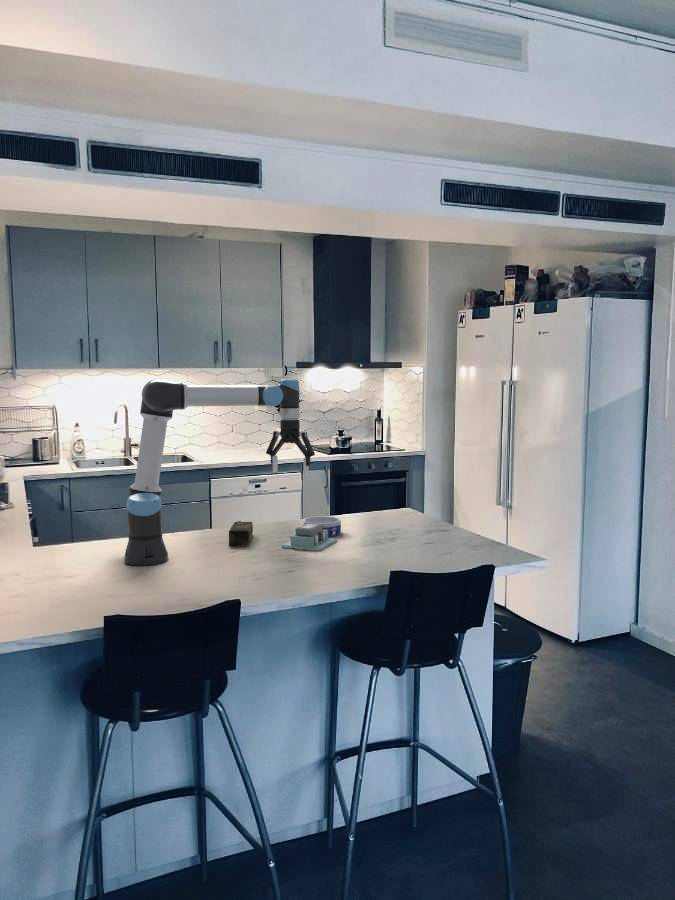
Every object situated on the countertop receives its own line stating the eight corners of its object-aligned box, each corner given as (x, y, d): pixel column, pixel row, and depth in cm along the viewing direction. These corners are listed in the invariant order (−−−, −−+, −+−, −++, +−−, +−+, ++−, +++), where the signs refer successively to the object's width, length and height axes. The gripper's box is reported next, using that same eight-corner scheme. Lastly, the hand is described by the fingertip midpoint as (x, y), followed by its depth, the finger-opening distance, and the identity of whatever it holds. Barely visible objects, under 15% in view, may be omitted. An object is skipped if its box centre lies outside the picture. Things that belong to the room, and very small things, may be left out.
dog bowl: (323, 528, 308) (323, 514, 307) (348, 533, 297) (348, 519, 296) (296, 534, 298) (295, 519, 297) (320, 540, 286) (320, 525, 286)
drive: (308, 538, 284) (308, 522, 284) (323, 539, 281) (322, 524, 281) (295, 544, 275) (295, 528, 275) (310, 545, 272) (310, 529, 272)
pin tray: (281, 547, 274) (281, 536, 274) (299, 538, 289) (299, 527, 288) (320, 551, 268) (320, 539, 268) (336, 541, 283) (336, 530, 282)
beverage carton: (253, 535, 296) (253, 519, 296) (249, 547, 277) (248, 530, 277) (234, 535, 296) (233, 520, 295) (228, 547, 277) (227, 530, 276)
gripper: (257, 418, 283) (257, 472, 286) (314, 420, 273) (315, 476, 276) (266, 417, 290) (267, 470, 292) (323, 419, 280) (323, 473, 282)
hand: (290, 473), depth 284 cm, fingers open, 13 cm apart
